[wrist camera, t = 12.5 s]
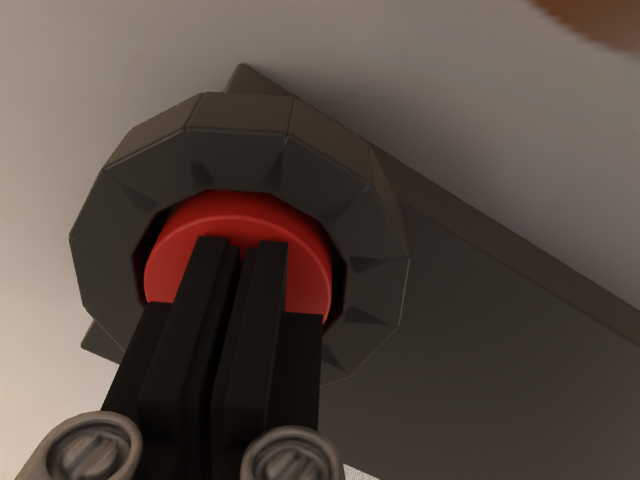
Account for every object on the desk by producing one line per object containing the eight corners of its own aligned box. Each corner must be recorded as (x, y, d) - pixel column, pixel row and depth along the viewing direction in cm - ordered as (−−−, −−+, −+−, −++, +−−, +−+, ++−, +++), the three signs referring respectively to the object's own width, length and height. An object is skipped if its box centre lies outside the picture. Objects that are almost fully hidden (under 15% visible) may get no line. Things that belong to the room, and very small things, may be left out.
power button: (138, 263, 13) (113, 315, 12) (213, 137, 12) (193, 180, 10) (278, 333, 14) (271, 388, 13) (365, 226, 13) (368, 276, 11)
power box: (64, 274, 17) (-4, 381, 14) (205, -2, 13) (157, 54, 9) (524, 491, 22) (558, 610, 18) (737, 342, 18) (829, 460, 14)
